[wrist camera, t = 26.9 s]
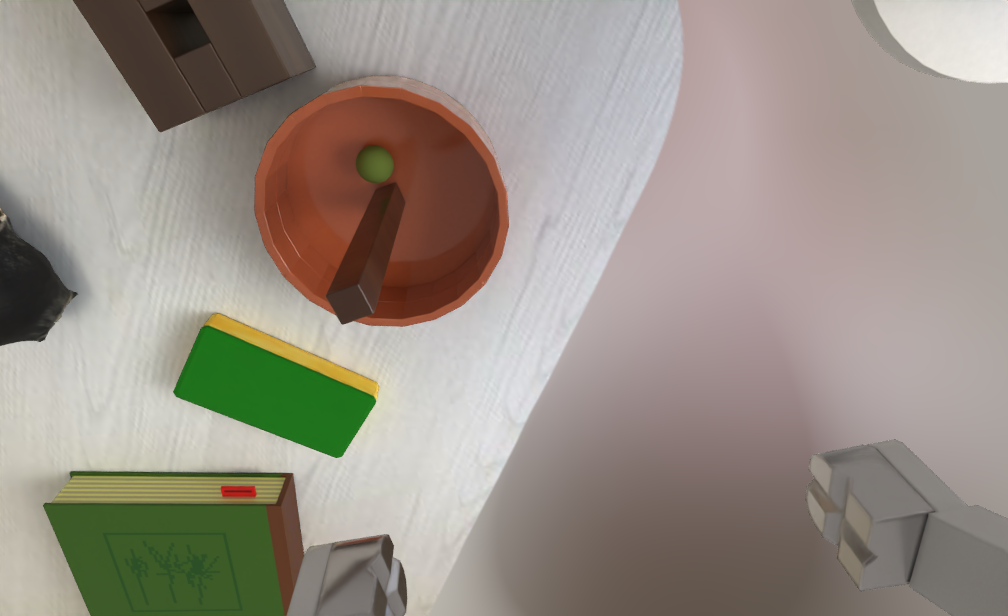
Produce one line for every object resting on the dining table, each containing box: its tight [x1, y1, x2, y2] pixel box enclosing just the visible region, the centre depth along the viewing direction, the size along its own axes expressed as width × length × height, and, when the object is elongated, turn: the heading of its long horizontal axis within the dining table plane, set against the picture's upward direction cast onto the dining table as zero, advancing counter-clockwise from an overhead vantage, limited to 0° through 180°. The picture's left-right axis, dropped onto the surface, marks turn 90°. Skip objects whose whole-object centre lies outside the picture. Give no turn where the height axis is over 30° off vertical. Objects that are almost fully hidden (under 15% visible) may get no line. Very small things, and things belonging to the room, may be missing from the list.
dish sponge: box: [173, 314, 379, 458], centre depth 45 cm, size 7×14×2 cm, turn 58°
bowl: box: [254, 76, 509, 327], centre depth 36 cm, size 15×15×6 cm
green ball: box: [356, 145, 394, 183], centre depth 36 cm, size 2×2×2 cm
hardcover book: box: [43, 472, 304, 616], centre depth 53 cm, size 25×19×4 cm
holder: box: [73, 0, 316, 132], centre depth 31 cm, size 8×8×6 cm
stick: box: [326, 182, 406, 324], centre depth 31 cm, size 2×2×16 cm
